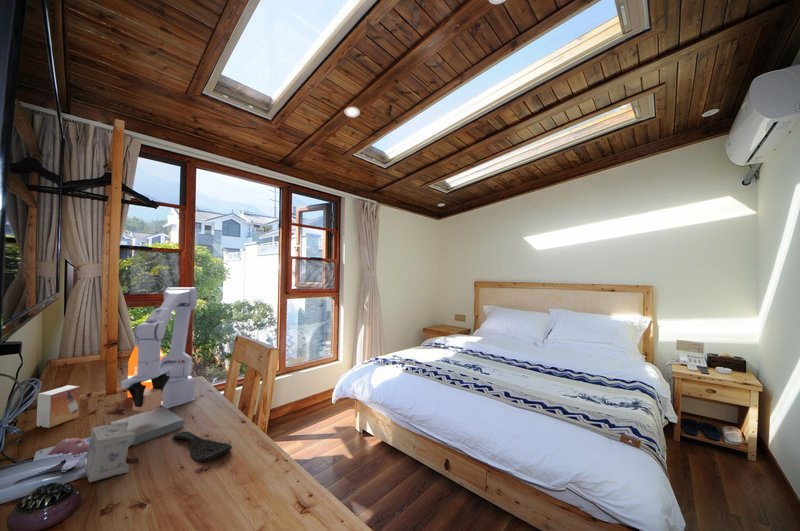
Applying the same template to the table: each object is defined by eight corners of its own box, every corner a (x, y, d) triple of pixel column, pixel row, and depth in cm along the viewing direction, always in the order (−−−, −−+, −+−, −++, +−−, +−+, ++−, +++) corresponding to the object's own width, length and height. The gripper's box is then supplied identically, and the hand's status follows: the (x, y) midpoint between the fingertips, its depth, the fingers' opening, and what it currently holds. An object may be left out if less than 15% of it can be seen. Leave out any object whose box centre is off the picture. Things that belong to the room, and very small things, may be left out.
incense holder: (134, 470, 79) (136, 429, 79) (88, 488, 72) (90, 443, 72) (126, 455, 85) (127, 417, 85) (83, 470, 79) (84, 429, 79)
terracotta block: (149, 403, 102) (149, 387, 102) (161, 405, 101) (161, 389, 101) (132, 409, 97) (133, 393, 97) (144, 411, 96) (145, 395, 96)
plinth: (163, 413, 109) (163, 406, 109) (183, 427, 100) (183, 419, 100) (110, 430, 98) (110, 422, 98) (127, 447, 89) (127, 438, 89)
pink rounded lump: (81, 472, 80) (96, 441, 83) (59, 474, 76) (77, 442, 79) (57, 464, 83) (73, 435, 86) (36, 465, 79) (53, 435, 82)
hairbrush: (190, 421, 99) (239, 438, 88) (190, 433, 99) (239, 452, 87) (160, 433, 92) (209, 454, 80) (160, 445, 92) (209, 468, 80)
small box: (48, 428, 98) (50, 395, 98) (35, 426, 99) (36, 393, 99) (79, 416, 106) (80, 386, 106) (67, 415, 107) (68, 384, 107)
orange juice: (141, 390, 130) (142, 342, 130) (163, 389, 131) (165, 342, 131) (126, 397, 122) (128, 346, 122) (151, 397, 123) (152, 346, 123)
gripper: (162, 353, 107) (160, 392, 107) (114, 365, 93) (112, 410, 93) (177, 354, 105) (176, 395, 105) (131, 367, 91) (130, 414, 91)
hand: (147, 402), depth 99 cm, fingers closed on terracotta block, 5 cm apart
